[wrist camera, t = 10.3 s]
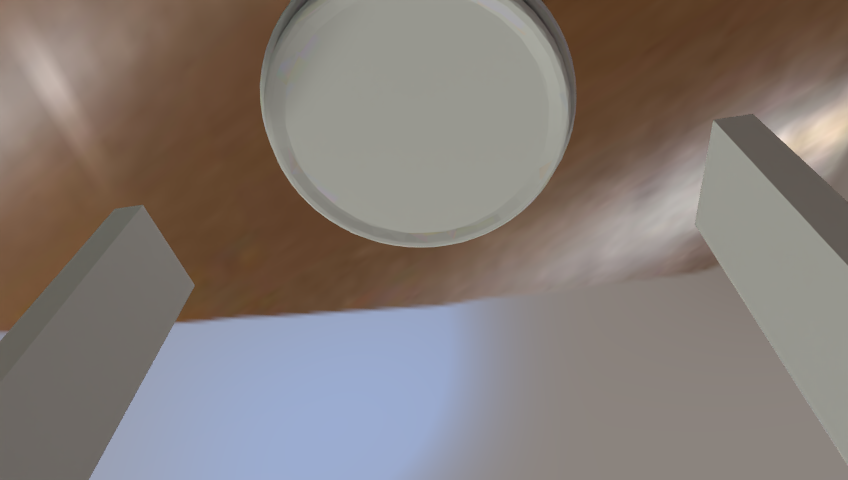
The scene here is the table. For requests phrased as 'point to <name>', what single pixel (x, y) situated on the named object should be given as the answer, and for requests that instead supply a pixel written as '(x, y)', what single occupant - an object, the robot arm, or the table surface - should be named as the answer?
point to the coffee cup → (418, 112)
